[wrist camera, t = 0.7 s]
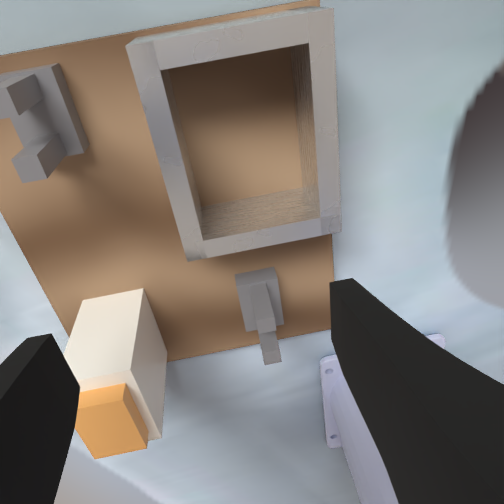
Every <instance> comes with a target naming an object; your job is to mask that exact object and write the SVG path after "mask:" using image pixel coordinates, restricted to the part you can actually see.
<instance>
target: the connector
mask: <svg viewBox="0 0 504 504" xmlns="http://www.w3.org/2000/svg"><path fill="white" fill-rule="evenodd" d="M63 356H64V358H65V359H66V361H67V363H68V365H69V367H70V369H71V370H72V372H73V374H74V376H75V378H76V380H77V381H78V383H79V385H80V394H79V403H78V410H77V417H76V423H75V429H76V431H77V432H78V434H79V435H80V437H81V439H82V440H83V442H84V443H85V445H86V446H87V448H88V449H89V451H90V453H91V454H92V456H93V457H94V459H98V458H103V457H108V456H113V455H118V454H122V453H127V452H132V451H137V450H142V449H146V448H147V443H148V441H150V440H155V439H160V438H162V427H163V411H164V396H165V381H166V365H167V350H166V347H165V344H164V342H163V339H162V336H161V334H160V331H159V328H158V326H157V323H156V320H155V318H154V315H153V312H152V310H151V307H150V304H149V302H148V299H147V296H146V294H145V291H144V288H142V289H137V290H132V291H127V292H122V293H117V294H112V295H107V296H102V297H97V298H92V299H87V300H83V301H82V304H81V307H80V309H79V312H78V315H77V318H76V321H75V324H74V326H73V329H72V332H71V335H70V338H69V340H68V343H67V346H66V349H65V352H64V355H63Z"/></svg>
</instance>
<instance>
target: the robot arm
mask: <svg viewBox="0 0 504 504" xmlns="http://www.w3.org/2000/svg"><path fill="white" fill-rule="evenodd" d="M329 289H330V315H331V340H332V343H333V346H334V349H335V352H336V354H335V355H330V356H326V357H324V358H322V359H321V360H320V363H319V364H320V376H321V387H322V398H323V410H324V421H325V432H326V442H327V446H328V447H329V448H338V447H342V448H343V451H344V454H345V457H346V460H347V463H348V466H349V469H350V472H351V475H352V478H353V481H354V484H355V487H356V490H357V493H358V496H359V499H360V502H361V504H504V385H503V384H501V383H500V382H498V381H496V380H494V379H492V378H491V377H489V376H487V375H485V374H484V373H482V372H480V371H479V370H477V369H475V368H473V367H472V366H470V365H468V364H467V363H465V362H463V361H462V360H460V359H458V358H457V357H455V356H454V355H452V354H451V353H449V352H448V351H446V350H445V342H446V341H445V338H444V337H443V336H442V335H441V334H433V335H428V336H424V335H423V334H422V333H420V332H419V331H417V330H416V329H415V328H414V327H412V326H411V325H410V324H408V323H407V322H406V321H404V320H403V319H402V318H400V317H399V316H398V315H397V314H395V313H394V312H393V311H391V310H390V309H389V308H388V307H387V306H385V305H384V304H383V303H382V302H380V301H379V300H378V299H377V298H376V297H374V296H373V295H372V294H371V293H370V292H369V291H367V290H366V289H365V288H364V287H363V286H361V285H360V284H359V283H358V282H357V281H355V280H354V279H353V278H350V279H345V280H340V281H334V282H329ZM79 394H80V385H79V383H78V381H77V380H76V378H75V376H74V374H73V372H72V370H71V369H70V367H69V365H68V363H67V361H66V359H65V358H64V356H63V354H62V352H61V350H60V348H59V346H58V345H57V343H56V341H55V339H54V337H53V335H52V334H46V335H41V336H35V337H30V338H27V339H26V340H25V341H24V342H23V343H21V344H20V345H19V346H18V347H17V348H16V349H15V350H14V351H13V352H12V353H11V354H10V355H9V356H8V357H7V358H6V359H5V360H4V361H3V362H2V363H1V365H0V504H54V500H55V497H56V493H57V490H58V486H59V482H60V479H61V475H62V472H63V468H64V465H65V461H66V458H67V454H68V450H69V447H70V443H71V439H72V436H73V432H74V428H75V423H76V417H77V410H78V403H79Z"/></svg>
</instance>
